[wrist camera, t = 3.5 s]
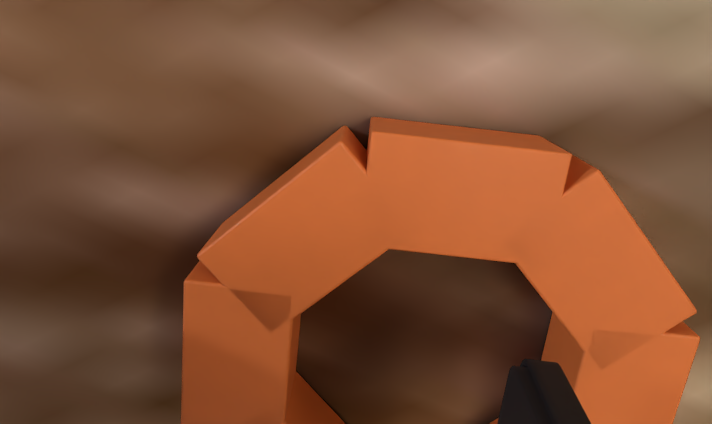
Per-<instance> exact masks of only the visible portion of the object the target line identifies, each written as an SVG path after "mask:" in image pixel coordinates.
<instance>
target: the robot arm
mask: <svg viewBox="0 0 712 424" xmlns="http://www.w3.org/2000/svg"><path fill="white" fill-rule="evenodd" d="M497 424H591V422H590V420H589V419H588V417H587V415H586V413H585V411H584V409H583V407H582V405H581V404H580V402H579V400H578V398H577V396H576V394H575V392H574V390H573V389H572V387H571V385H570V383H569V381H568V379H567V377H566V375H565V374H564V372H563V370H562V368H561V366H560V365H559V364H558V363H556V362H549V361H540V360H532V359H524V360H523V361H522V363H521V365H520V366H512V367H511V368H510V371H509V374H508V379H507V383H506V387H505V392H504V396H503V401H502V405H501V410H500V414H499V419H498V423H497Z"/></svg>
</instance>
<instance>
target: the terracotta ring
mask: <svg viewBox="0 0 712 424" xmlns="http://www.w3.org/2000/svg"><path fill="white" fill-rule="evenodd" d="M388 249H393V250H402V251H411V252H420V253H429V254H438V255H447V256H456V257H465V258H474V259H483V260H492V261H501V262H510V263H515V264H516V265H517V266H518V268H519V269H520V270H521V272H522V273H523V274H524V275H525V277H526V278H527V279H528V281H529V282H530V283H531V285H532V286H533V287H534V288H535V290H536V291H537V292H538V294H539V295H540V296H541V297H542V299H543V300H544V301H545V303H546V304H547V305H548V307H549V308H550V309H551V310H552V316H551V321H550V325H549V329H548V333H547V338H546V342H545V346H544V350H543V354H542V359H541V361H549V362H556V363H558V364H559V365H560V366H561V368H562V370H563V372H564V374H565V375H566V377H567V379H568V381H569V383H570V385H571V387H572V389H573V390H574V392H575V394H576V396H577V398H578V400H579V402H580V404H581V405H582V407H583V409H584V411H585V413H586V415H587V417H588V419H589V420H590V422H591V424H673V421H674V418H675V415H676V411H677V408H678V405H679V402H680V399H681V396H682V393H683V390H684V387H685V384H686V381H687V378H688V375H689V372H690V369H691V366H692V363H693V360H694V357H695V354H696V351H697V347H698V344H699V341H700V337H699V336H698V335H697V334H696V333H695V332H694V331H693V330H692V329H690V328H689V327H688V326H687V325H686V324H685V323H684V322H683V321H684V320H686V319H687V318H689V317H690V316H692V315H694V314H695V313H696V312H697V311H696V308H695V307H694V305H693V304H692V302H691V301H690V300H689V298H688V297H687V295H686V294H685V292H684V291H683V290H682V288H681V287H680V285H679V284H678V282H677V281H676V279H675V278H674V277H673V275H672V274H671V272H670V271H669V269H668V268H667V267H666V265H665V264H664V262H663V261H662V259H661V258H660V256H659V255H658V254H657V252H656V251H655V249H654V248H653V246H652V245H651V244H650V242H649V241H648V239H647V238H646V236H645V235H644V233H643V232H642V231H641V229H640V228H639V226H638V225H637V223H636V222H635V221H634V219H633V218H632V216H631V215H630V213H629V212H628V210H627V209H626V208H625V206H624V205H623V203H622V202H621V200H620V199H619V197H618V196H617V195H616V193H615V192H614V190H613V189H612V187H611V186H610V185H609V183H608V182H607V180H606V179H605V177H604V176H603V174H602V173H601V172H600V170H598V169H596V168H594V167H593V166H591V165H589V164H587V163H586V162H584V161H582V160H580V159H579V158H577V157H575V156H573V155H572V154H571V153H569V152H567V151H565V150H564V149H562V148H560V147H558V146H556V145H555V144H553V143H551V142H549V141H548V140H546V139H544V138H542V137H541V136H539V135H530V134H521V133H512V132H503V131H494V130H486V129H477V128H468V127H459V126H450V125H442V124H433V123H424V122H415V121H406V120H397V119H389V118H380V117H371V120H370V128H369V137H368V145H367V150H366V149H365V148H364V147H363V145H362V144H361V143H360V142H359V140H358V139H357V138H356V137H355V135H354V134H353V133H352V132H351V130H350V129H349V128H348V127H347V126H342V127H341V128H340V129H339V130H337V131H336V132H335V133H334V134H332V135H331V136H330V137H329V138H327V139H326V140H325V141H324V142H322V143H321V144H320V145H319V146H317V147H316V148H315V149H314V150H312V151H311V152H310V153H309V154H308V155H306V156H305V157H304V158H303V159H301V160H300V161H299V162H298V163H296V164H295V165H294V166H293V167H291V168H290V169H289V170H288V171H286V172H285V173H284V174H283V175H281V176H280V177H279V178H278V179H276V180H275V181H274V182H273V183H271V184H270V185H269V186H268V187H267V188H265V189H264V190H263V191H262V192H260V193H259V194H258V195H257V196H255V197H254V198H253V199H252V200H250V201H249V202H248V203H247V204H245V205H244V206H243V207H242V208H240V209H239V210H238V211H237V212H235V213H234V214H233V215H232V216H230V217H229V218H228V219H227V220H226V221H224V222H223V223H222V224H221V225H220V227H219V228H218V229H217V230H216V232H215V233H214V234H213V235H212V237H211V238H210V239H209V240H208V242H207V243H206V244H205V245H204V246H203V248H202V249H201V250H200V251H199V253H198V254H197V257H198V259H199V260H200V261H199V262H198V263H197V265H196V266H195V267H194V269H193V270H192V271H191V273H190V274H189V275H188V276H187V278H186V279H185V281H184V296H183V345H182V395H181V424H345V423H344V422H343V421H342V419H341V418H340V417H339V416H338V415H337V414H336V413H335V412H334V411H333V410H332V409H331V408H330V407H329V406H328V405H327V404H326V402H325V401H324V400H323V399H322V398H321V397H320V396H319V395H318V394H317V393H316V392H315V391H314V390H313V389H312V388H311V387H310V385H309V384H308V383H307V382H306V381H305V380H304V379H303V378H302V377H301V376H300V375H299V374H298V373H297V372H296V365H297V354H298V343H299V332H300V321H301V313H302V312H304V311H305V310H306V309H308V308H309V307H310V306H312V305H313V304H315V303H316V302H317V301H319V300H320V299H321V298H323V297H324V296H326V295H327V294H328V293H330V292H331V291H332V290H334V289H335V288H336V287H338V286H339V285H341V284H342V283H343V282H345V281H346V280H347V279H349V278H350V277H351V276H353V275H354V274H356V273H357V272H358V271H360V270H361V269H362V268H364V267H365V266H366V265H368V264H369V263H371V262H372V261H373V260H375V259H376V258H377V257H379V256H380V255H382V254H383V253H384V252H386V251H387V250H388ZM498 419H499V418H497V419H496V420H494V421H492V422H491V423H489V424H497V423H498Z"/></svg>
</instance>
